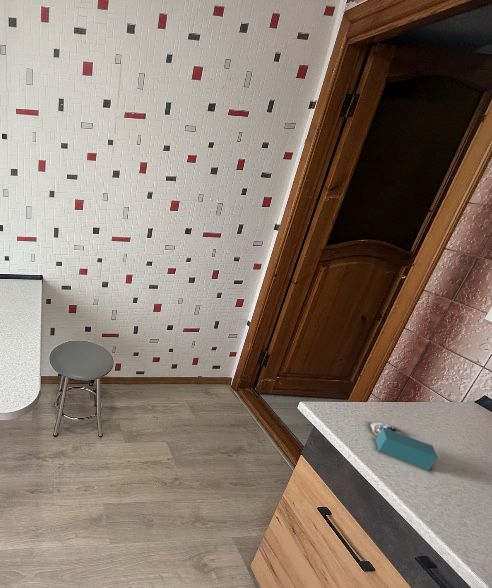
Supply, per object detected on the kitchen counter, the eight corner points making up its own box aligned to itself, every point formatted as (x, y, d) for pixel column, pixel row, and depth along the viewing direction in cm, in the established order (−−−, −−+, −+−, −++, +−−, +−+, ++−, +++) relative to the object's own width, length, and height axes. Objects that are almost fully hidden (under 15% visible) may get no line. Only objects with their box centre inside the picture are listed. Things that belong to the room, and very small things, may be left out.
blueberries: (408, 438, 92) (411, 433, 91) (390, 445, 89) (393, 440, 88) (381, 421, 97) (384, 416, 97) (363, 426, 95) (366, 421, 94)
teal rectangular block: (423, 458, 86) (432, 445, 84) (429, 470, 82) (438, 457, 80) (375, 439, 90) (382, 427, 89) (378, 450, 87) (386, 438, 85)
